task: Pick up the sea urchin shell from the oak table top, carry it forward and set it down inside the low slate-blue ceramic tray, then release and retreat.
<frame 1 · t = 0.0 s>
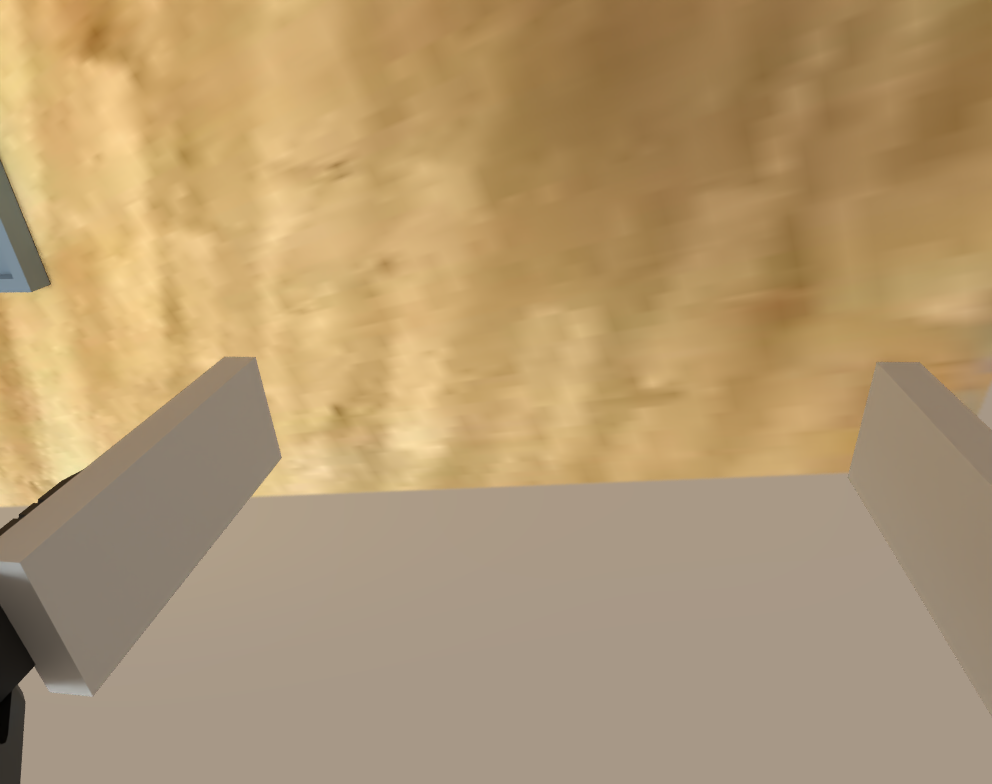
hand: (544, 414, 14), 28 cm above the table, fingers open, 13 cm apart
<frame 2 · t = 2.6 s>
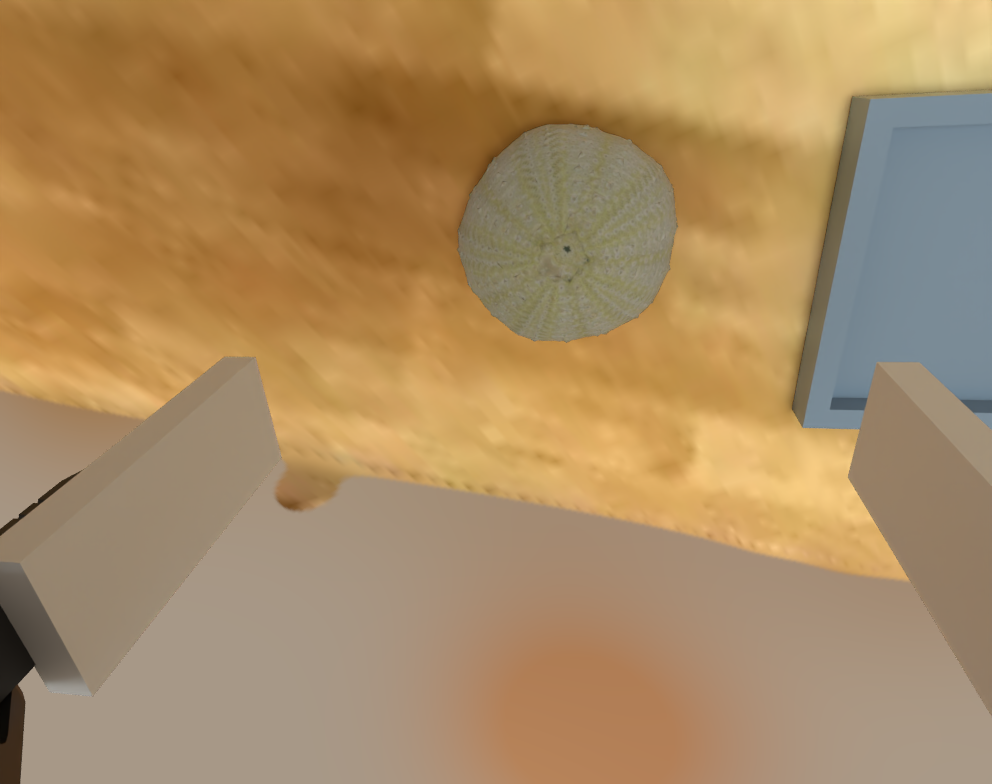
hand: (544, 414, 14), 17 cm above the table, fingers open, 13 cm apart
sea urchin shell: (569, 227, 28), on the table
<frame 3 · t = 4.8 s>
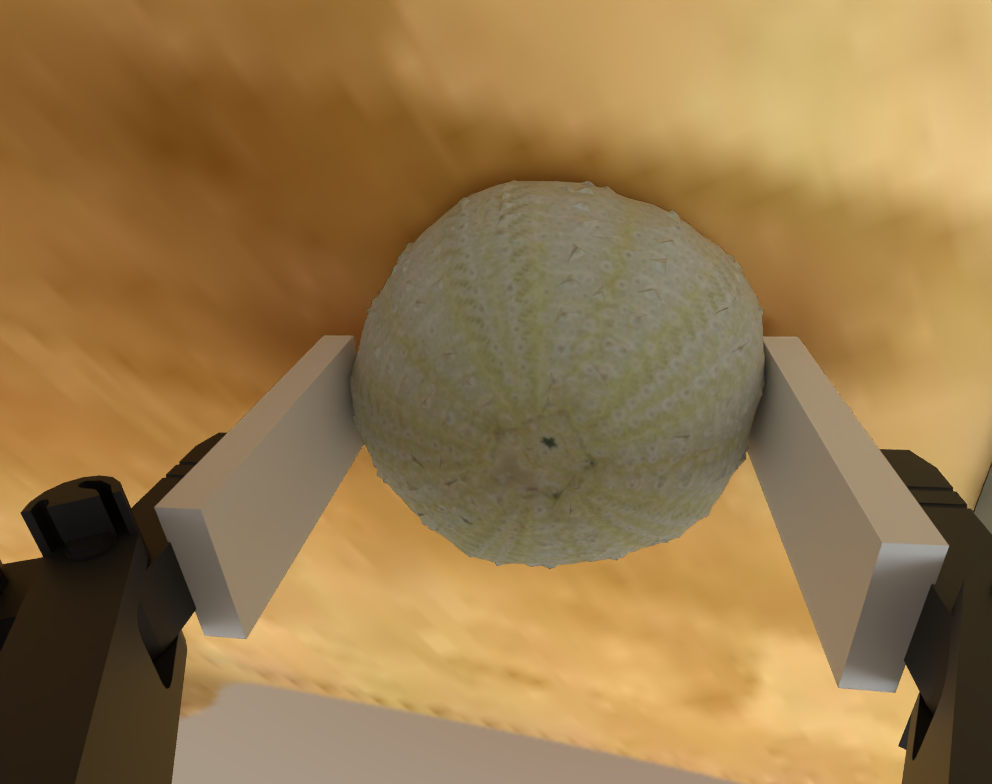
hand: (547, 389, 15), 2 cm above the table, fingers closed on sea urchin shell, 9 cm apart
sea urchin shell: (557, 351, 16), on the table, touching gripper
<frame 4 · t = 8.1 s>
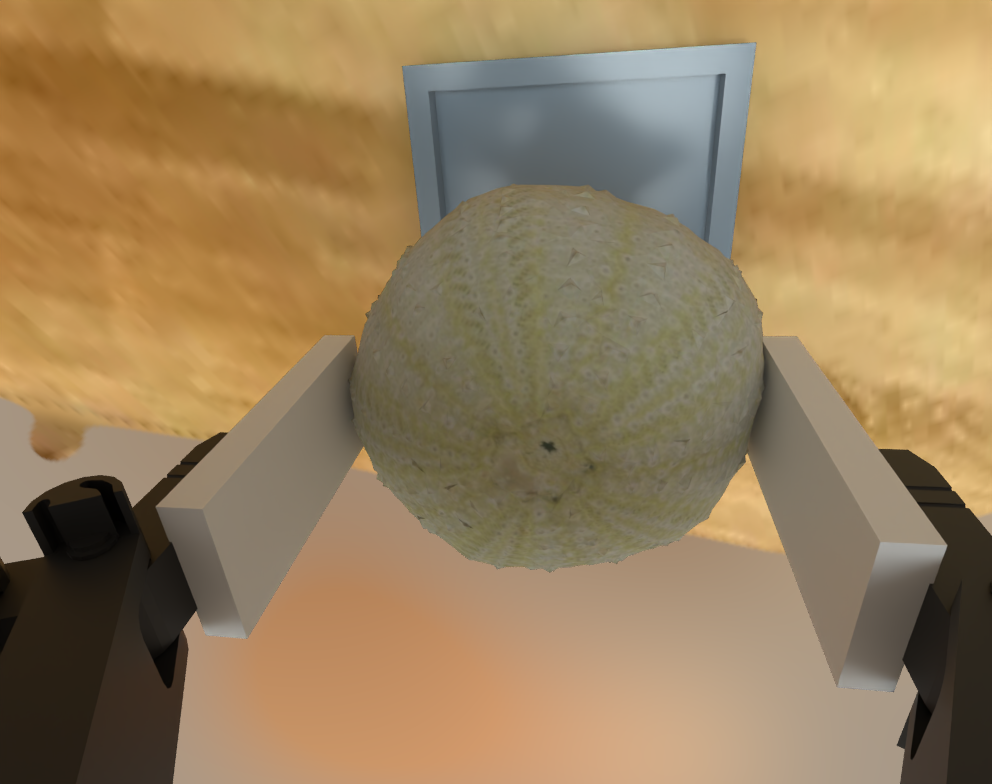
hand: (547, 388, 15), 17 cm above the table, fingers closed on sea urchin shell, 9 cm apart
sea urchin shell: (557, 354, 16), point 15 cm above the table, touching gripper
tray: (573, 221, 30), on the table
when the fingers open (4 cm above the table, at t = 11.3 s): sea urchin shell drops 2 cm, resting on tray.
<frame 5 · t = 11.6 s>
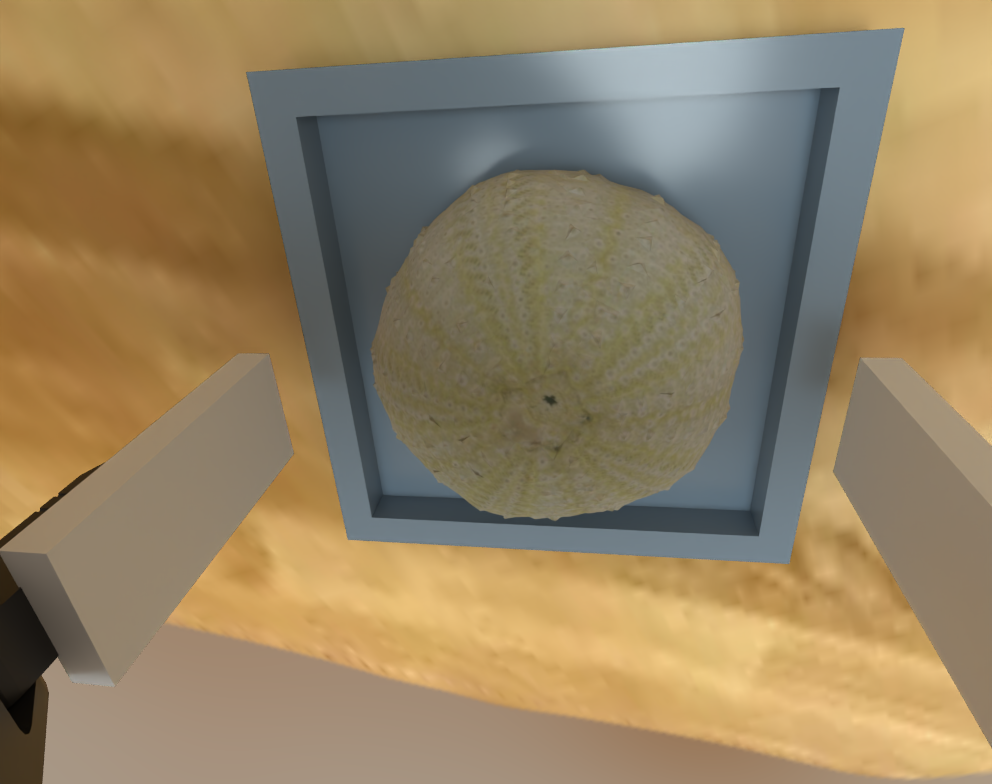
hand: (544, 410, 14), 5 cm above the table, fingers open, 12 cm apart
sea urchin shell: (558, 326, 18), resting on tray
tray: (557, 325, 18), on the table
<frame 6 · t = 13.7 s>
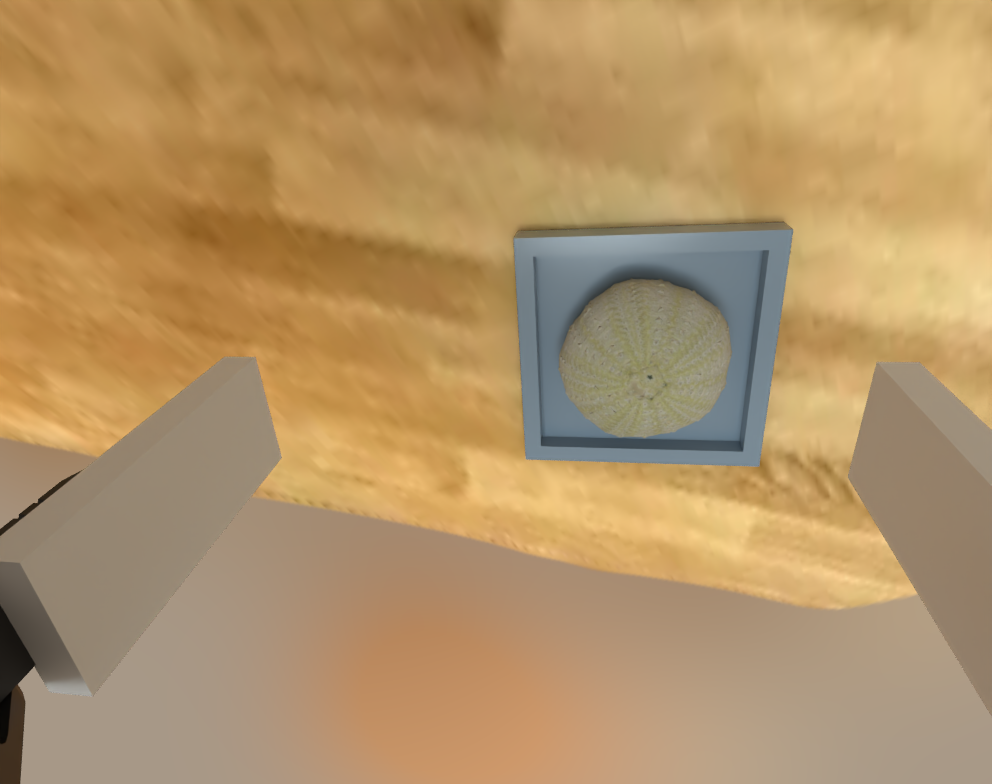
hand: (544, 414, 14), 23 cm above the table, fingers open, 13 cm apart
sea urchin shell: (642, 346, 36), resting on tray
tray: (641, 346, 37), on the table
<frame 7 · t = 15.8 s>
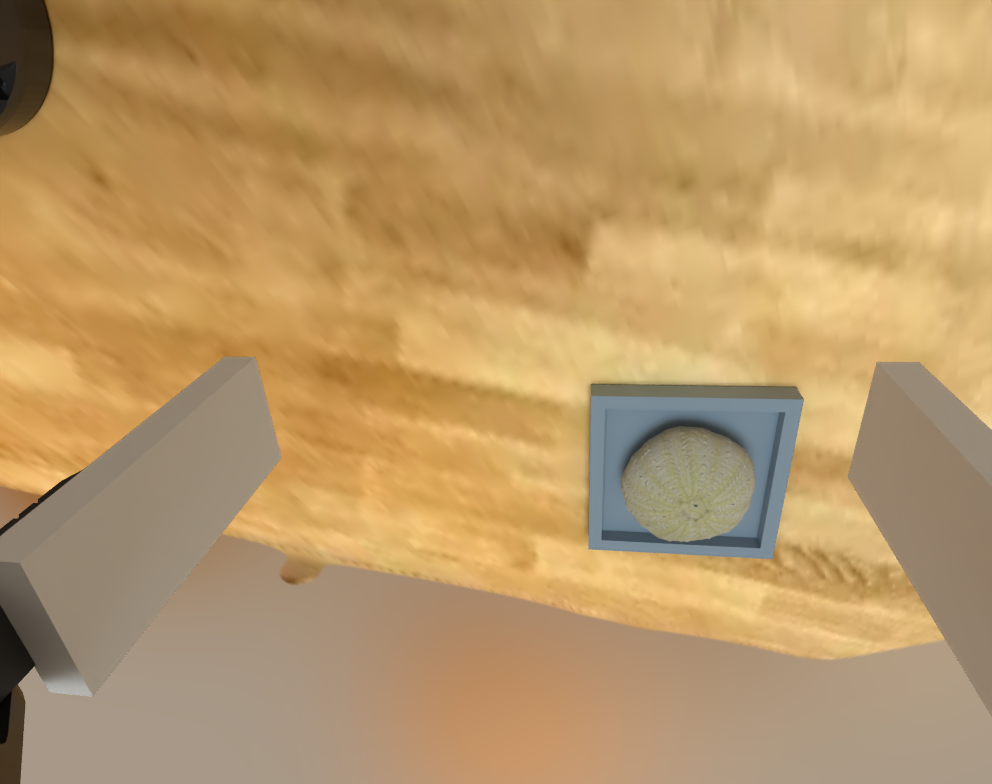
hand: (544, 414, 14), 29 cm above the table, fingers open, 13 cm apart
sea urchin shell: (684, 468, 47), resting on tray
tray: (683, 467, 47), on the table
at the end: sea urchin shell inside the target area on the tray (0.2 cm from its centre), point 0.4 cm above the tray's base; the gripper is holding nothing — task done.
